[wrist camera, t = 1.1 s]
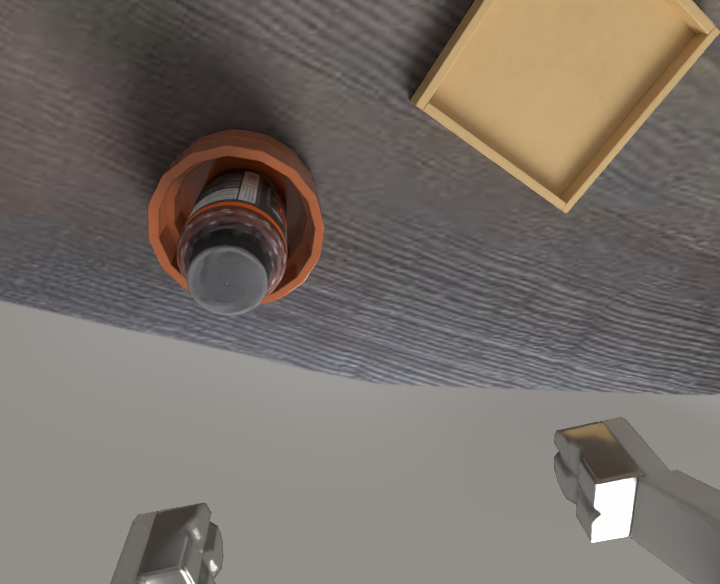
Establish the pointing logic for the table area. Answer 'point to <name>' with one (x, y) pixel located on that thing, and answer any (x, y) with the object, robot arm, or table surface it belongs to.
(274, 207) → the supplement bottle
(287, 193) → the bowl
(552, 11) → the tray
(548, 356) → the table surface
